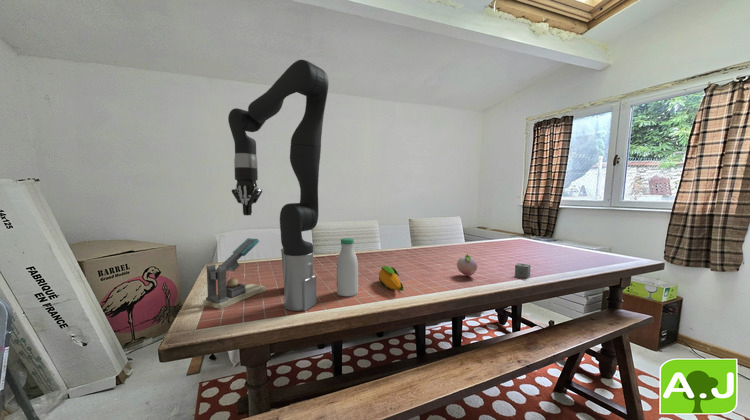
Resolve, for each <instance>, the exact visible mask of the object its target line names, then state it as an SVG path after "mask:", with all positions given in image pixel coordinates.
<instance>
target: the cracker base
mask: <svg viewBox="0 0 750 420" xmlns="http://www.w3.org/2000/svg"><path fill="white" fill-rule="evenodd" d="M218 267H219V266H218ZM218 267H216V264H210V265H208V266H206V280H207V282H206V284H207V285H206V286H207V297H205V299H204V300H202V305H203V306H206V307H210V308H215V309H219V310H223V309H224V308H226V307H229V306H232V305H234V304H236V303H238V302H241V301H244V300H245V299H249V298H250V297H252V296H255V295H258V294H260V293H263V292H265V291H266V290H267V289H266V287H267V286H265V285H260V284H255V283H247V284H245V283H244V284H243V283H238V286H237V287H236V288H233V289H230V288H228V287H227V271H226V266H223V267H219V268H218ZM216 269H217V280H214V279H211V274H210V272H211V271H214V270H216Z"/></svg>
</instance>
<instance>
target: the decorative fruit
mask: <svg viewBox="0 0 750 420" xmlns="http://www.w3.org/2000/svg"><path fill="white" fill-rule="evenodd" d="M456 267H457V270H458V271H459V272H460V273H461V274H462V275H464V276H466V277H468V278H469V277H470V276H472V275H474V274H475V272H476V271H477V269H478V264H477V261H476V259H474V258H473V257H471V255H470V254H469V253H467V254H465V256H460V258H458V260H457V262H456Z"/></svg>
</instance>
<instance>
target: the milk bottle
mask: <svg viewBox="0 0 750 420" xmlns="http://www.w3.org/2000/svg"><path fill="white" fill-rule="evenodd" d="M354 244H355V243H354V238H350V237H348V238H346V237H345V238H340V246H341V249H340V252H339V254H338V256H337V261H336V294H337V295H338V296H340V297H353V296H356V295H357V294H358V292H359V265H358V264H359V262H358V261H359V260H358V258H357V255H356V253H355V250H354Z"/></svg>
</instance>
